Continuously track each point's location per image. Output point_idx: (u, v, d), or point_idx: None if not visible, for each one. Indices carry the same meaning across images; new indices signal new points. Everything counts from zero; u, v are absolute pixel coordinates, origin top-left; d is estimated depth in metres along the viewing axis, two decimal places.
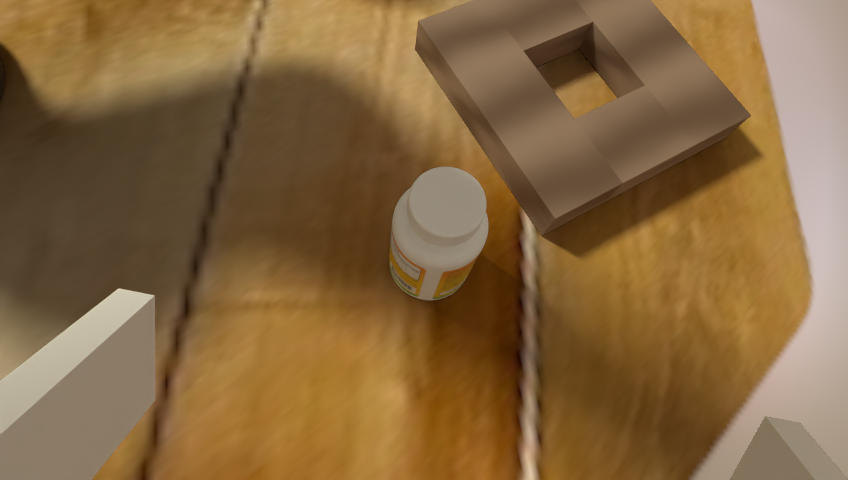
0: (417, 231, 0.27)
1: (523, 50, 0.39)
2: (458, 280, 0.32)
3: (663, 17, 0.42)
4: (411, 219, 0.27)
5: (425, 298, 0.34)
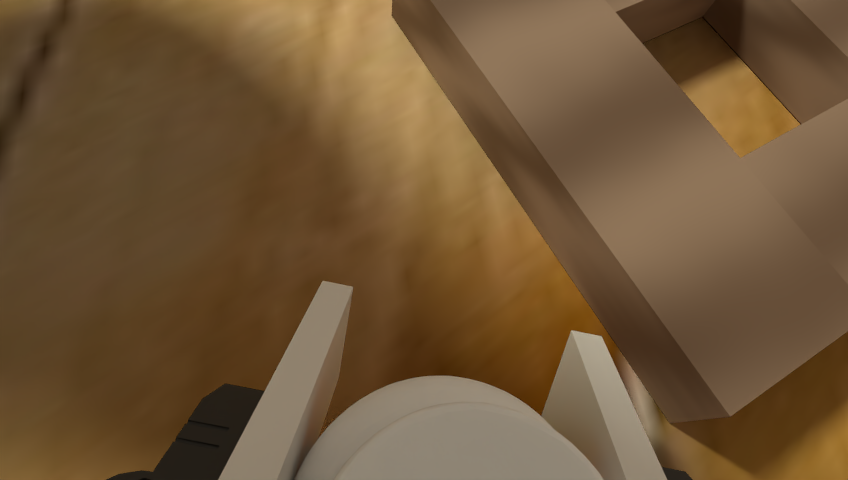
0: None
1: (615, 12, 0.19)
2: None
3: None
4: None
5: None
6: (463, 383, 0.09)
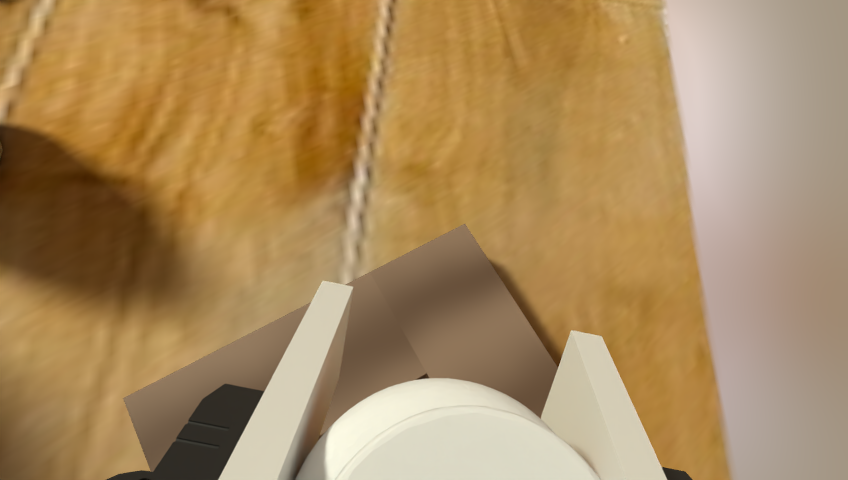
0: None
1: None
2: None
3: (544, 353, 0.26)
4: None
5: None
6: (463, 386, 0.09)
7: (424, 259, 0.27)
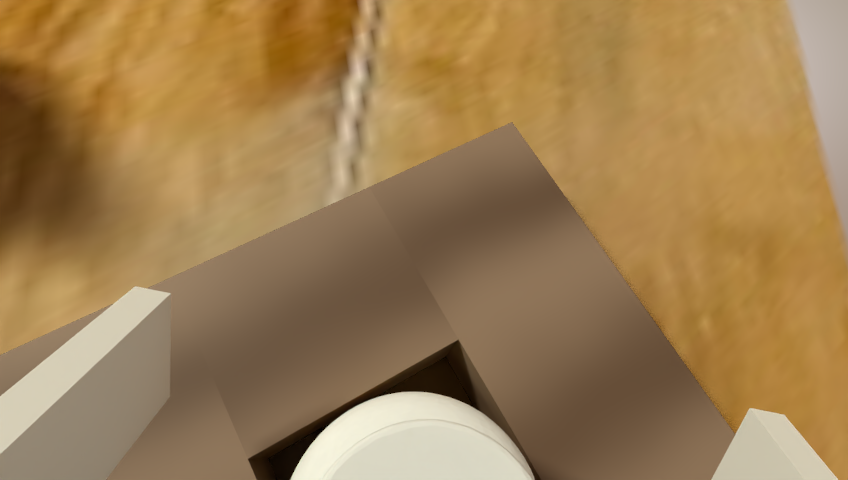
0: None
1: (248, 458, 0.14)
2: None
3: (641, 311, 0.17)
4: None
5: None
6: (432, 399, 0.11)
7: (453, 171, 0.18)
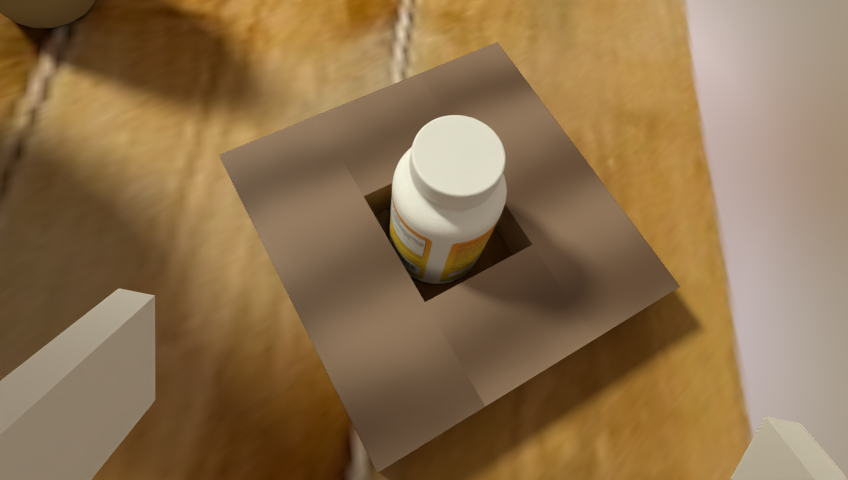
0: (421, 191, 0.22)
1: (363, 196, 0.28)
2: (470, 258, 0.27)
3: (566, 138, 0.31)
4: (414, 176, 0.22)
5: (431, 281, 0.29)
6: None
7: (464, 67, 0.32)
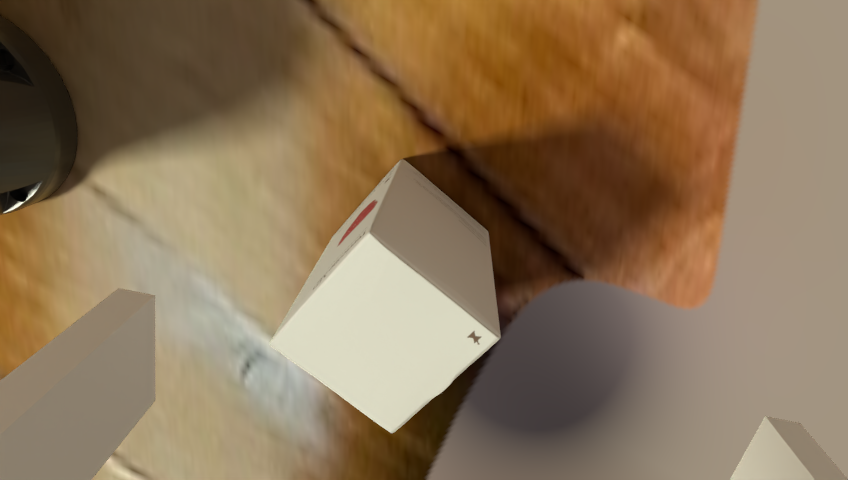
0: None
1: None
2: None
3: None
4: None
5: None
6: None
7: None
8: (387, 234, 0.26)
